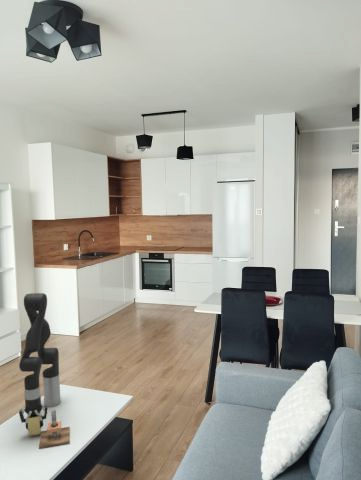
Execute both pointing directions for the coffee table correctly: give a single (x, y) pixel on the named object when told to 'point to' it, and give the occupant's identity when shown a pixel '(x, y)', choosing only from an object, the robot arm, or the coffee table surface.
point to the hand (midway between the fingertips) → (34, 427)
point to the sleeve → (34, 425)
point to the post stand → (54, 435)
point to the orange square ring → (54, 427)
